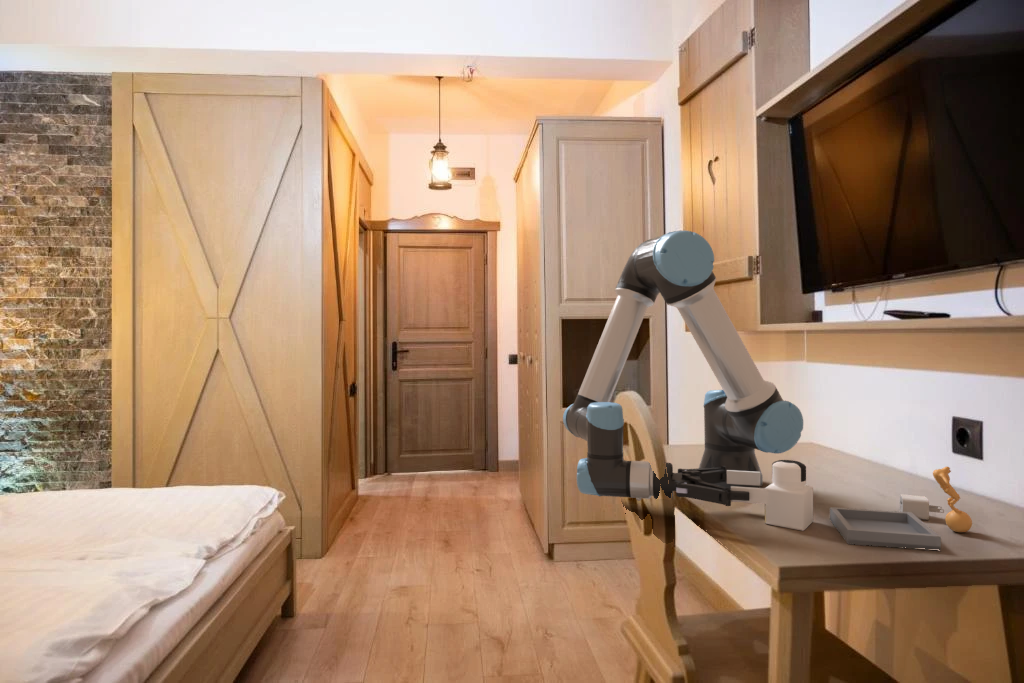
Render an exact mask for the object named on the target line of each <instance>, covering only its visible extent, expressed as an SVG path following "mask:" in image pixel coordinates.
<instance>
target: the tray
mask: <svg viewBox="0 0 1024 683" xmlns="http://www.w3.org/2000/svg"><path fill="white" fill-rule="evenodd" d="M829 520H831V521H832V522H831V521H830V522H831V523H832V525H833V524H834V525H833V526H834V528H837V529H836V530H837V531H838V533H839V532H840V533H839V534H840V535H841V537H842V536H843V537H842V538H843V539H844V541H845V540H846V541H845V542H846V543H847V544H848V545H854V544H855V545H854V546H858V545H859V546H866V545H869V547H878V546H886V547H885V548H891V547H903V548H902V549H904V548H905V547H906V548H925V549H939V550H941V551H942V546H941V545H942V538H941V535H939V534H938V533H937V532H936V531H935V530H934V529H932V528H931V527H929V526H928V525H927V524H926V523H925V522H923V521H922V520H921V519H919V518H917V517H916V516H915V515H914V514H912V513H911V512H900V511H898V510H897V511H893V510H882V509H880V510H879V509H865V508H849V507H847V508H846V507H829ZM871 545H872V546H871ZM887 546H888V547H887Z"/></svg>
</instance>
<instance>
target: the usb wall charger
mask: <svg viewBox="0 0 1024 683" xmlns="http://www.w3.org/2000/svg"><path fill="white" fill-rule="evenodd" d="M899 512H911V513H912V514H914V515H915V516H916V517H917V518H919V519H920V520H921V519H923V521H929V520H930V513H940V514H944V513H945V510H944V509H943V507H942V506H939V505H932V504H931V505H930V501H929V499H928V498H927V497H926V496H922V495H910V494H901V493H900V494H899Z"/></svg>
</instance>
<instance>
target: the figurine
mask: <svg viewBox="0 0 1024 683" xmlns="http://www.w3.org/2000/svg"><path fill="white" fill-rule="evenodd" d="M950 473H952V470H951V467H949V466H945V467H943V468H942V467H941V468H938V469H937V468H936V469H934V470H933V472H932V476H933V478H934V479H935V482H937V483H938V484H939V486H940V488H941V489H942V490H943V492H944V493H945V494H947V495H948V496H949V497H948V498H947V499H946V501H947V505H948V506H949V507H950V508H951V510H950V511H949V512H948V513H947V514H946V515H945V517H944V518H945V523H946V526H947V527H948V528H949V529H950V530H952V531H953V532H955V533H966V532H968V531H969V530H971V529H972V526H973V520H972V517H971V515H969V514H968V513H967V512H965V511H963V510H960V509H958V508H956V507H955V506H954V505H956V504H957V502H959V500H960V499H961V496H960V494H959V493H957V491H956V489H955V488H954V487H953V486H952V484H951V483H950V482H951V478H950V475H949V474H950Z"/></svg>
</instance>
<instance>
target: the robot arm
mask: <svg viewBox="0 0 1024 683" xmlns="http://www.w3.org/2000/svg"><path fill="white" fill-rule="evenodd" d="M713 250H714V249H713V248H712V246H711V245H710V243H709V242H708V240H706V238H704V237H703V236H701V235H700V234H699V233H697V232H695V231H690V230H675V231H674V230H673V231H669V232H666V233H664V234H662V235H660V236H656V237H654V238H651V239H646V240H645V241H643V242H641V243H640V244H639V245H637V246H636V248H634V250H633V251H632V252H631V254H630V255H629V257H628V259H627V261H626V263H625V264H624V267H623V268H622V272H621V274H620V277H619V279H618V282H617V283H616V286H615V289H614V292H615V295H616V299H615V300H614V303H613V305H612V308H611V311H610V312H609V316H608V319H607V320H606V323H605V326H604V328H603V331H602V332H601V336H600V338H599V341H598V344H597V345H596V348H595V350H594V353H593V355H592V358H591V361H590V363H589V365H588V368H587V370H586V373H585V376H584V378H583V380H582V383H581V385H580V387H579V391H578V393H577V395H576V397H575V400H574V402H573V403H572V404H570V405H569V406H568V407H567V408H566V409H565V410H564V412H563V414H562V422H563V425H564V428H566V430H567V431H568V432H569V433H570V434H571V435H573V436H575V437H576V438H580V439H581V440H582V439H583V441H585V442H587V444H586V446H587V452H586V453H587V454H586V457H585V458H580V459H579V460H578V462H577V465H576V466H577V468H576V485H577V489H578V491H579V492H580V493H581V494H583V495H590V496H598V497H615V498H616V497H617V498H632V499H633V498H635V499H636V501H638V502H639V501H642V499H646V500H650V499H651V498H652V497H653V499H655V500H656V499H657V498H658V496H659V493H660V492H659V491H660V486H661V488H662V490H664V493H665V495H666V496H668V497H669V498H671V493H672V499H673V498H674V497H673V495H674V492H676V494H675V495H676V497H678V498H688V499H689V498H690V499H692V500H699V501H704V502H709V503H715V504H719V505H723V506H725V507H731V506H732V502H733V503H748V504H761V505H762V504H763V505H765V504H769V489H768V488H766V487H762V486H763V482H764V481H763V480H764V479H763V478H764V477H763V473H762V470H761V467H760V464H759V462H758V458H757V456H756V452H755V450H758V451H760V452H762V453H767V454H768V453H769V454H770V453H771V454H775V455H776V454H783V453H786V452H787V451H790V450H791V449H792V448H793V447H795V445H797V443H798V442H799V441H800V439H801V436H802V431H804V417H803V414H802V412H801V409H800V408H799V407H798V406H797V405H796V404H795V403H792V402H791V401H789V400H784V399H783V397H782V395H781V394H780V392H779V391H778V388H777V386H776V385H775V384H774V382H771V381H769V380H764V378H763V376H762V375H761V373H760V371H759V369H758V367H757V365H756V364H755V362H754V360H753V358H752V356H751V355H750V353H749V351H748V349H747V348H746V345H745V344H744V342H743V340H742V338H741V336H740V334H739V333H738V331H737V328H736V327H735V325H734V323H733V322H732V320H731V318H730V317H729V315H728V313H727V311H726V309H725V307H724V305H723V304H722V302H721V300H720V298H719V296H718V294H717V292H716V291H715V289H714V288H715V287H714V286H715V284H716V281H717V277H716V275H715V274H714V271H713V270H714V266H715V265H714V262H715V254H714V251H713ZM659 294H660V295H661V297H662V298H663V300H664V302H665V304H666V306H671V307H674V308H676V309H677V310H678V313H679V314H680V316H681V317H682V319H683V321H684V323H685V324H686V327H687V328H688V330H689V333H690V334H691V335H692V338H693V339H694V341H695V342H696V344H697V346H698V348H699V349H700V352H701V353H702V355H703V357H704V358H705V360H706V361H707V364H708V365H709V367H710V370H711V371H712V373H713V375H714V376H715V378H716V380H717V381H718V383H719V385H720V388H722V389H713V390H711V389H710V390H708V391H706V392H705V394H704V401H703V408H704V410H703V414H704V415H703V417H704V420H703V422H704V423H703V426H704V431H703V432H704V451H703V453H702V457H701V459H700V463H699V466H698V468H678V469H677V472H673V471H674V469H673V468H674V467H673V464H672V463H671V462H665V463H666V467H667V473H668V477H667V474H666V469H665V474H664V477H662V478H661V479H660V480H659V479H658V478H657V477H656V474H655V473H654V471H652V468H651V465H650V463H649V462H648V461H647V460H646V461H645V460H625V459H624V424H625V419H624V413H623V412H624V410H623V406H622V405H621V404H620V403H617V402H613V401H612V402H611V400H612V397H613V395H614V391H615V390H616V387H617V384H618V382H619V379H620V377H621V374H622V373H623V369H624V367H625V365H626V362H627V359H628V358H629V355H630V353H631V350H632V348H633V344H634V343H635V340H636V338H637V335H638V333H639V331H640V330H639V329H640V327H641V325H642V323H643V320H644V317H645V315H646V312H647V310H648V308H650V307H653V306H654V304H655V302H656V299H657V297H658V296H659ZM668 480H669V484H668ZM660 484H661V485H660ZM760 486H761V487H760ZM758 487H759V488H758Z"/></svg>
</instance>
